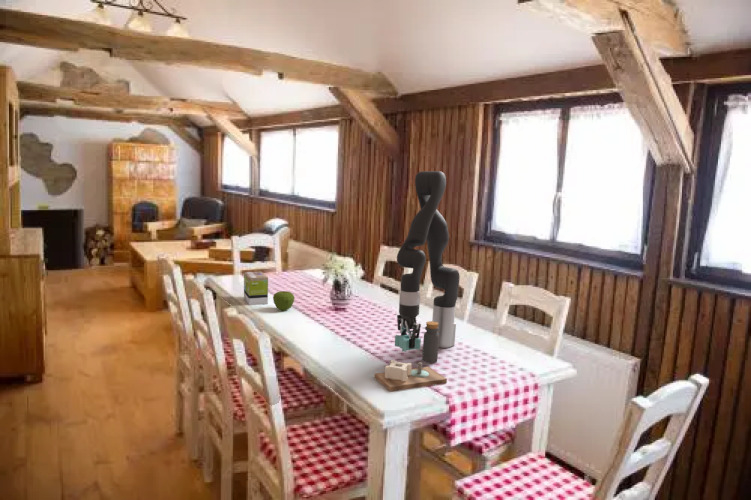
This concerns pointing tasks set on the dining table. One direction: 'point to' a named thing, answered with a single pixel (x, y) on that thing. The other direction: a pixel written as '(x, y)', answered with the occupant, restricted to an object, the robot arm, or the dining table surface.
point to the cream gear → (398, 370)
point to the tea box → (255, 288)
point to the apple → (283, 300)
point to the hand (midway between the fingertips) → (407, 345)
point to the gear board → (412, 379)
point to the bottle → (430, 342)
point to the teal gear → (406, 342)
